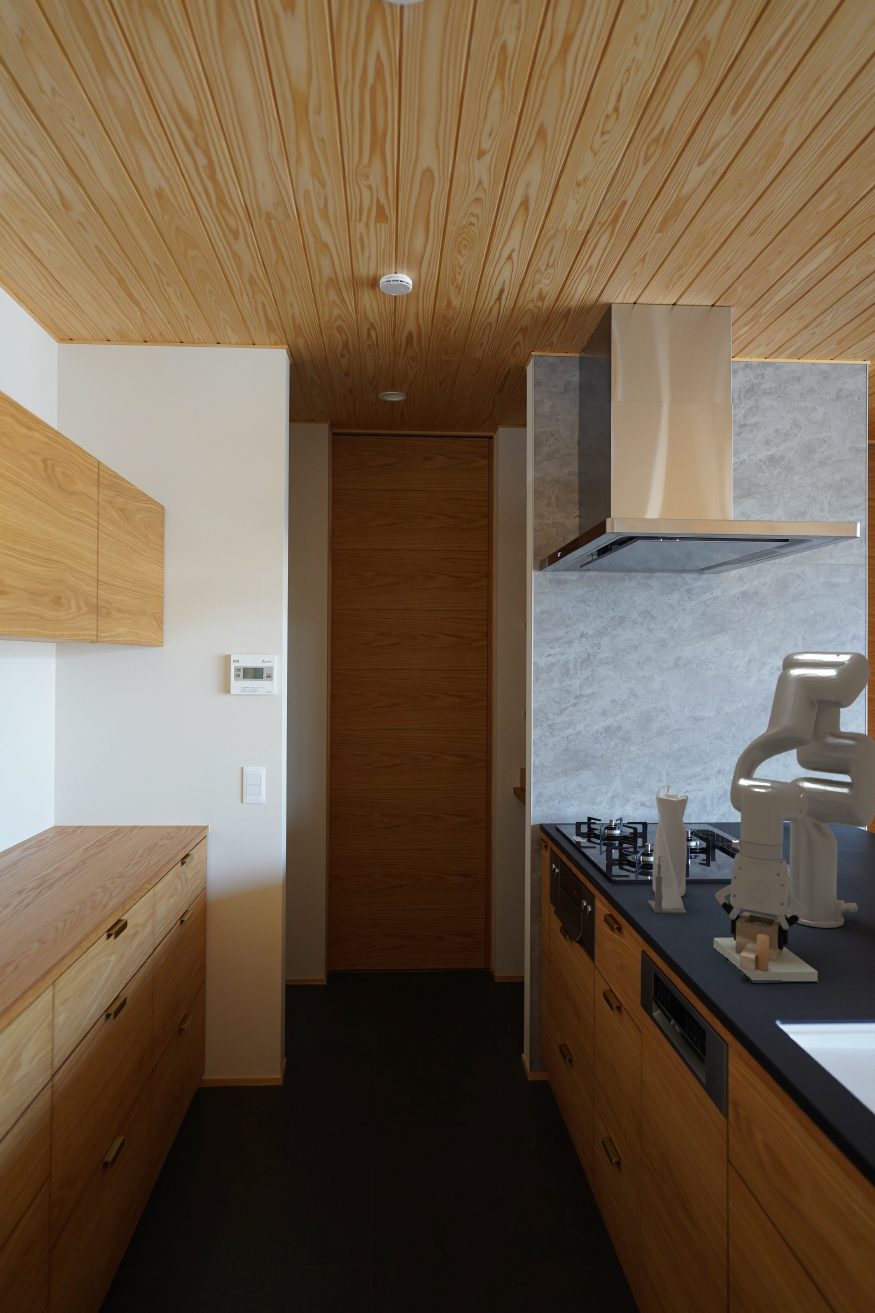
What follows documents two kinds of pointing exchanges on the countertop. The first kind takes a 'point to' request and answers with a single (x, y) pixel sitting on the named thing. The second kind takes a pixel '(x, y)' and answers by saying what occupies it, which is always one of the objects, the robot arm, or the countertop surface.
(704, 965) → the countertop surface
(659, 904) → the skyscraper
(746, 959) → the open wooden box
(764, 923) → the post
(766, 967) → the dowel
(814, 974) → the board
